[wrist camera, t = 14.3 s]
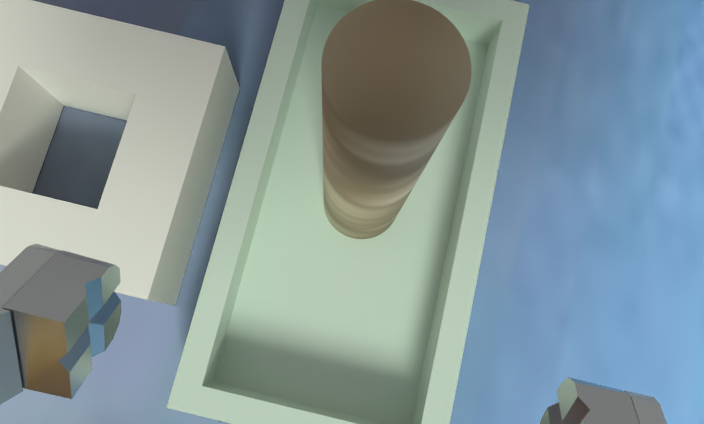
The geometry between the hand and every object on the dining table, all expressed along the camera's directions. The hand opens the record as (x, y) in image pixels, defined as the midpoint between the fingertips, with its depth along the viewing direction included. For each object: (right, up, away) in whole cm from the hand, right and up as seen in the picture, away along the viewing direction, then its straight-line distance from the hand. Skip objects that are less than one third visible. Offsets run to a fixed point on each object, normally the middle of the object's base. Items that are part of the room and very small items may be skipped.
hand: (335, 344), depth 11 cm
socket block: (-11, +4, +15) cm, 19 cm away
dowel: (+1, +3, +15) cm, 15 cm away
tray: (+1, +3, +15) cm, 16 cm away
